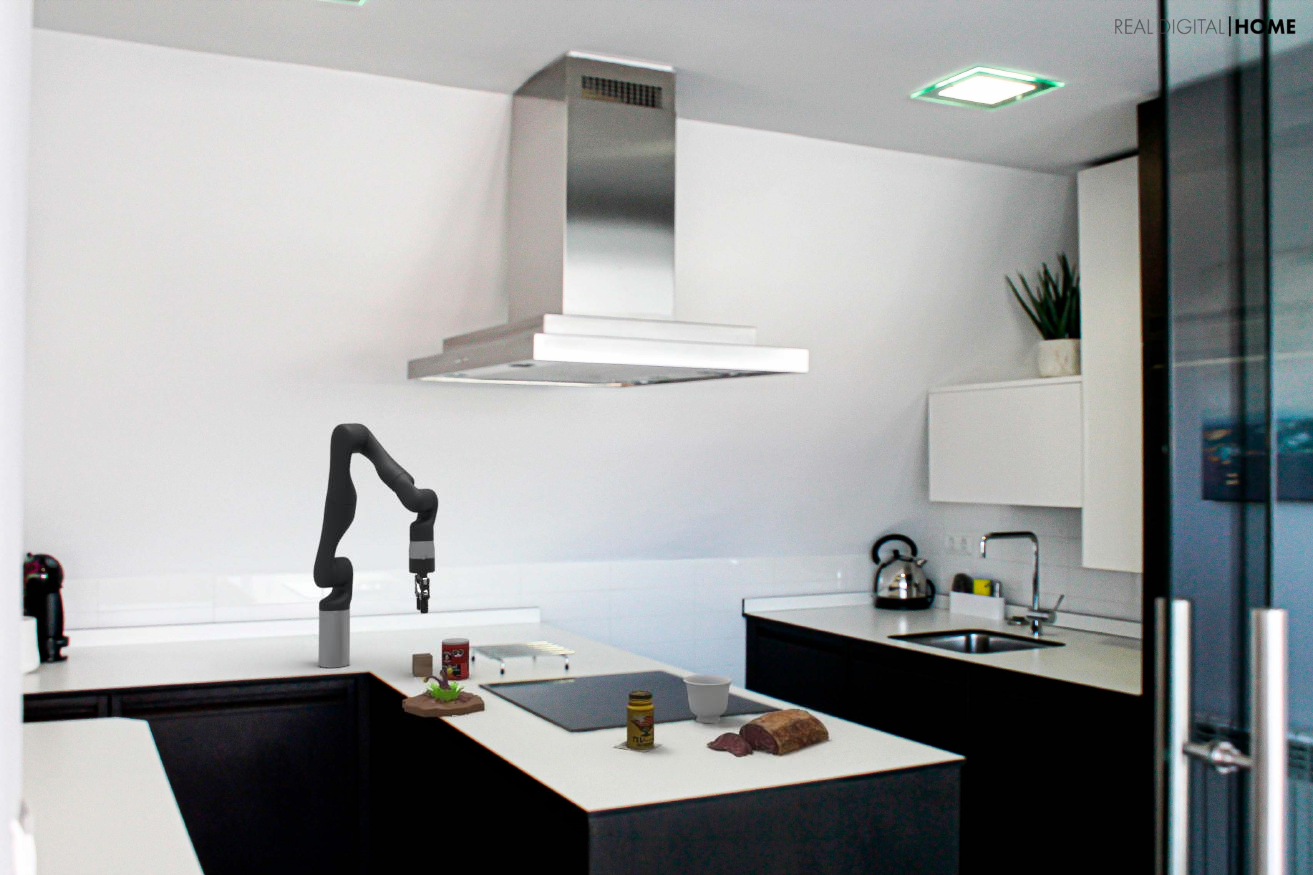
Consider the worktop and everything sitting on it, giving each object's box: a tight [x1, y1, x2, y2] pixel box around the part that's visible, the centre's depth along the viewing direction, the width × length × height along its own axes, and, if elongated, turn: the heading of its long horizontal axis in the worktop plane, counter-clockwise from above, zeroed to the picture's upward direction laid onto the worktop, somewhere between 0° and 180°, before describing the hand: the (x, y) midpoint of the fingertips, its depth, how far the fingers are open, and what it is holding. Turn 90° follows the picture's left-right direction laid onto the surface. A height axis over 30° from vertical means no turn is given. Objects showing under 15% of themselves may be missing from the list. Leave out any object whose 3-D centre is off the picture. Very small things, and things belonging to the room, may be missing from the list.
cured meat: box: [706, 708, 830, 757], centre depth 245 cm, size 18×25×7 cm
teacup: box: [683, 674, 733, 724], centre depth 269 cm, size 12×15×10 cm
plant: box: [401, 666, 485, 718], centre depth 281 cm, size 20×20×11 cm
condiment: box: [613, 690, 662, 753], centre depth 244 cm, size 7×8×12 cm
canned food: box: [441, 637, 470, 681], centre depth 320 cm, size 8×8×11 cm
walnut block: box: [411, 652, 434, 678], centre depth 324 cm, size 5×5×6 cm
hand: (422, 611), depth 324 cm, fingers open, 8 cm apart
